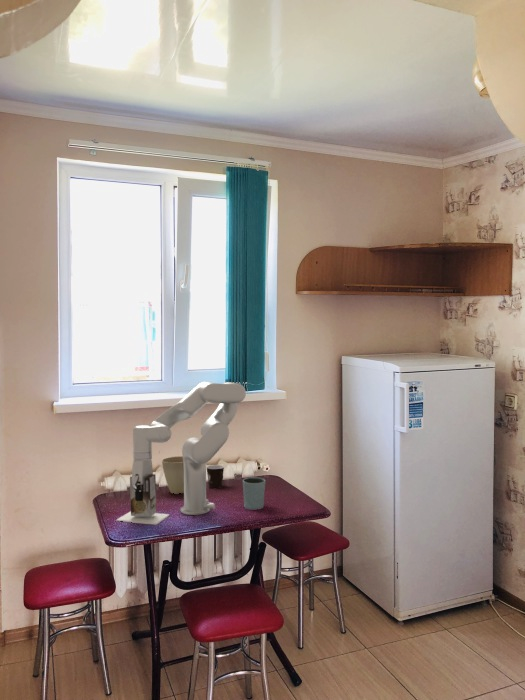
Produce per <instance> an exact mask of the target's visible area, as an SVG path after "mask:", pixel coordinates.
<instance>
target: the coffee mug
mask: <svg viewBox="0 0 525 700" xmlns="http://www.w3.org/2000/svg"><path fill="white" fill-rule="evenodd" d="M224 468H225V466H224V465H219V464H212V465H207V466H206V476H207V481H208V487H210V488H209V489H213V488H217V489H220V488H219V487H221V488H222V487H223V479H224V471H225V470H224Z"/></svg>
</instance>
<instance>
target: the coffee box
mask: <svg viewBox="0 0 525 700" xmlns="http://www.w3.org/2000/svg"><path fill="white" fill-rule="evenodd" d="M138 483H141V482H138ZM156 485H157V484H156V474H155V473H153V474H151V475H149V476H147V477H146V478H145V479H144V484H143V487H142V491H143V501H136V500H135V491H134V490H135V489H134V487H133V485H132V476H130V477H129V489H130V492H129V495H130V511H131V516H150V517H151V516H152V515H154V514H155V513H157V489H156V488H157V486H156ZM138 486H139V488H140V485H138Z"/></svg>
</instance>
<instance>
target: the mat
mask: <svg viewBox="0 0 525 700" xmlns="http://www.w3.org/2000/svg"><path fill="white" fill-rule="evenodd" d="M168 517H170V514H169V513H158V512H156V513H155V514H154V515H152V516H151V517H150V516H131V510H130V511H129V512H127V513H125V514H123V515H122V516H120V517H118V518H117V519H116V522H120V521H123V523H131V522H132V523H133V524H144V525H154V526H155V525H156V526H157V525H159V524H160V523H161V522H162V521H164V520H166V519H168Z"/></svg>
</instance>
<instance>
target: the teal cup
mask: <svg viewBox="0 0 525 700" xmlns="http://www.w3.org/2000/svg"><path fill="white" fill-rule="evenodd" d="M242 489H243V507H245V508H244V509H246V510H251V511H254V510H255V511H256V510H257V509H258V510H261V508H262V509H263V508H264V506H265V504H264V502H265V491H266V479H265V478H262V477H258V476H256V477H253V476H252V477H245V478H243V479H242Z"/></svg>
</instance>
